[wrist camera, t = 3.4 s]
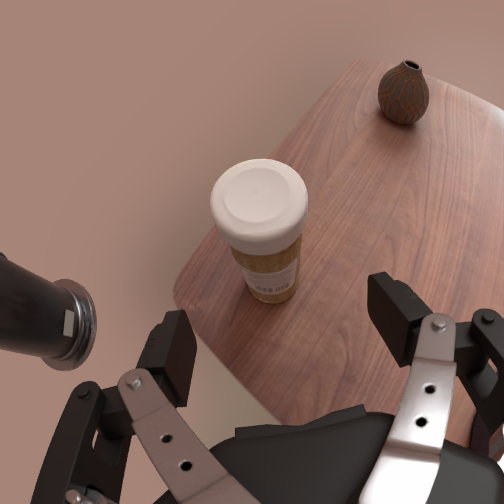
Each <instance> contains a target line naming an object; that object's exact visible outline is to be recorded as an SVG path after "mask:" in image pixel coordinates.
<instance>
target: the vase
mask: <svg viewBox="0 0 504 504" xmlns="http://www.w3.org/2000/svg"><path fill="white" fill-rule="evenodd" d="M378 101H379V105H380V107H381V109H382V111H383V112H384V114H385V115H386V116H387V117H388V118H389V119H391V120H392V121H394V122H396V123H399V124H411V123H414V122H416V121H418V120H419V119H420V118H421V117H422V116H423V115H424V113H425V111H426V109H427V107H428V103H429V89H428V86H427V83H426V81H425V79H424V77H423V74H422V69H421V67H420V66H419V65H418V64H417V63H415V62H413V61H410V60H404V61H403V62H402V63H401V64H400V65H398V66H396V67H394V68H392V69H391V70H389V71H388V72H387V73H386V74H385V75H384V76H383V78H382V79H381V81H380V84H379V88H378Z"/></svg>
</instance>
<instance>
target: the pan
mask: <svg viewBox="0 0 504 504" xmlns="http://www.w3.org/2000/svg"><path fill="white" fill-rule="evenodd" d="M496 375H497V376H498V372H497V374H496ZM490 439H491V436H490V434H489V432H488V430H487V428H486V426H485V424H484V422H483V420H482V418H481V416H480V414H479V412H478V413H477V416H476V419H475V423H474V427H473V432H472V438H471V446H470V450H472V451H474V452H477V453H479V454H482V455H484V456H487V457H488V454H489V442H490Z"/></svg>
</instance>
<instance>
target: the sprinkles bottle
mask: <svg viewBox="0 0 504 504" xmlns="http://www.w3.org/2000/svg"><path fill="white" fill-rule="evenodd" d="M210 210H211V214H212V217H213V219H214V222H215V224H216V226H217V229H218V231H219V232H220V234H221V236H222V237H223V239H224V240H225V241H226V242H227V243H228V244H229V245H230V247H231V250H232V254H233V256H234V258H235V260H236V262H237V264H238V266H239V268H240V270H241V272H242V275H243V277H244V279H245V281H246V282H247V285H248V288H249V290H250V291H251V293H252V295H253V296H254V297H255V298H257V299H258V300H260V301H262V302H264V303H269V304H272V303H273V304H276V303H280V302H283V301H285V300H287V299H288V298H289V297H290V296H292V295H293V293H294V292H295V290H296V289H297V286H298V281H299V277H298V272H299V270H300V262H301V242H302V231H303V229H304V227H305V224H306V220H307V211H308V194H307V189H306V186H305V184H304V182H303V180H302V179H301V177H300V176H299V175H298V174H297V172H296V171H294V170H293V169H292V168H291V167H289V166H287V165H285V164H283V163H281V162H278V161H275V160H269V159H253V160H248V161H244V162H241V163H239V164H237V165H235V166H233V167H231V168H230V169H228V170H227V171H226V172H225V173H224V174H223V175H222V176H221V177H220V178H219V179H218V180H217V182H216V183H215V185H214V187H213V189H212V192H211V196H210Z"/></svg>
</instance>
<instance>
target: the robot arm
mask: <svg viewBox="0 0 504 504" xmlns="http://www.w3.org/2000/svg"><path fill="white" fill-rule="evenodd" d="M367 308H368V313H369V316H370V319H371V320H372V322H373V324H374V325H375V327H376V328H377V330H378V332H379V333H380V335H381V337H382V338H383V340H384V342H385V343H386V345H387V347H388V348H389V350H390V352H391V353H392V355H393V357H394V358H395V360H396V362H397V364H398V365H399V367H400V368H401V367H404V366H407V365H410V367H411V369H410V373H409V377H408V380H407V383H406V387H405V390H404V393H403V396H402V399H401V402H400V405H399V408H398V411H397V414H396V416H394V415H391V414H387V413H382V412H366V410H365V408H364V405H363V404H361V405H358V406H354V407H350V408H347V409H343V410H339V411H335V412H332V413H329V414H327V415H325V416H323V417H321V418H318V419H316V420H314V421H312V422H309V423H307V424H304V425H301V426H288V425H270V424H265V425H257V426H248V427H238V428H235V437H232V438H229V439H227V440H224V441H222V442H220V443H219V444H217V445H215V446H214V447H212V448H211V449H209V450H208V449H207V448H206V447H205V446H204V444H203V443H202V442H201V441H200V440H199V438H198V437H197V436H196V435H195V433H194V432H193V431H192V430H191V429H190V427H189V426H188V425H187V424H186V422H185V421H184V420H183V418H182V417H181V416H180V414H179V413H178V412H177V410H176V408H177V407H186V406H187V400H188V395H189V389H190V384H191V378H192V373H193V368H194V362H195V357H196V352H197V343H196V338H195V335H194V332H193V330H192V327H191V325H190V322H189V319H188V317H187V314H186V312H185V310H183V309H182V310H175V311H168V312H166V315H165V317H164V320H163V322H162V324H157V325H156V326H155V328H154V329H153V330H152V331H151V332H150V334H149V337H148V339H147V341H146V344H145V348H144V349H143V351H142V353H141V356H140V358H139V361H138V363H137V366H136V368H135V369H133V370H130V371H128V372H126V373H125V374H124V375H123V376H122V377H121V378H120V379H119V381H118V385H117V386H113V387H109V388H106V389H102V390H101V388H100V387H99V386H98V384H97V383H96V382H93V381H87V382H83V383H81V384H79V385H78V386H77V387H75V389H74V390H73V391H72V393H71V395H70V398H69V400H68V402H67V404H66V406H65V409H64V411H63V413H62V415H61V418H60V420H59V423H58V425H57V427H56V430H55V433H54V435H53V437H52V440H51V443H50V445H49V448H48V451H47V453H46V456H45V459H44V461H43V464H42V467H41V470H40V473H39V476H38V479H37V482H36V486H35V489H34V492H33V496H32V500H31V503H30V504H119V501H120V495H121V489H122V483H123V478H124V472H125V467H126V462H127V457H128V452H129V447H130V442H131V438H132V435H137V437H138V439H139V440H140V442H141V444H142V446H143V448H144V449H145V451H146V453H147V455H148V456H149V458H150V460H151V462H152V463H153V465H154V466H155V468H156V470H157V471H158V473H159V475H160V476H161V478H162V479H163V481H164V482H165V484H166V485H167V487H168V488H169V489H168V490H167V491H166V492H165V493H164V494H163V495H162V496H161V497H160V498H159V499H157V501H155V502H154V503H153V504H504V319H503V318H502V317H501V316H500V315H499V314H498V313H497V312H496V311H494V310H491V309H479V310H477V311H476V312H475V313H474V314H473V317H472V321H471V322H462V323H455V321H454V320H453V319H452V318H451V317H449V316H448V315H445V314H441V313H433V312H432V311H431V310H430V308H429V307H428V306H427V305H426V304H425V303H424V302H423V301H422V300H421V299H420V298H419V297H418V295H417V294H416V293H415V292H413V290H412V289H411V288H410V287H409V286H408V285H407V284H405V283H403V282H401V281H399V280H395V281H394V280H393V279H392V278H391V277H390V276H389V275H388V274H387V273H386V272H380V273H376V274H372V275H369V276H368V297H367ZM83 331H84V314H83V309H82V305H81V303H80V301H79V299H78V297H77V296H76V295H75V294H74V293H73V292H72V291H71V290H69V289H67V288H64V287H60V286H58V285H56V284H54V283H52V282H50V281H48V280H46V279H44V278H42V277H40V276H38V275H35V274H34V273H32V272H30V271H28V270H26V269H24V268H22V267H20V266H18V265H16V264H15V263H13V262H11V261H9V260H8V259H7V258H6V257H5V255H4V254H3V253H1V252H0V349H2V350H7V351H11V352H16V353H21V354H26V355H32V356H37V357H44V358H49V359H52V360H59V361H61V360H66V359H68V358H69V357H71V356H72V355H73V354H74V353H75V351H76V350H77V349H78V347H79V345H80V342H81V340H82V336H83ZM489 358H490V359H491V361H492V362H493V363H494V365H495V366H496V368H497V370H498V376H497V375H496V373H495V372H494V370H493V369H492V367H491V366H490V365H489V363H488V360H489ZM455 376H458V377H459V379H460V381H461V382H462V384H463V386H464V387H465V389H466V391H467V393H468V394H469V396H470V398H471V400H472V401H473V403H474V405H475V407H476V409H477V411H478V412H479V414H480V416H481V418H482V420H483V422H484V424H485V426H486V428H487V430H488V432H489V434H490V436H491V439H490V442H489V454H488V457H487V456H484V455H482V454H479V453H477V452H474V451H472V450H469V449H467V448H465V447H462V446H460V445H457V444H455V443H453V442H450V441H448V440H446V439H444V437H445V433H446V428H447V424H448V419H449V414H450V409H451V403H452V397H453V391H454V384H455ZM96 430H97V431H98V435H97V439H96V442H95V446H94V449H93V447H92V441H93V438H94V435H95V432H96Z"/></svg>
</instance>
